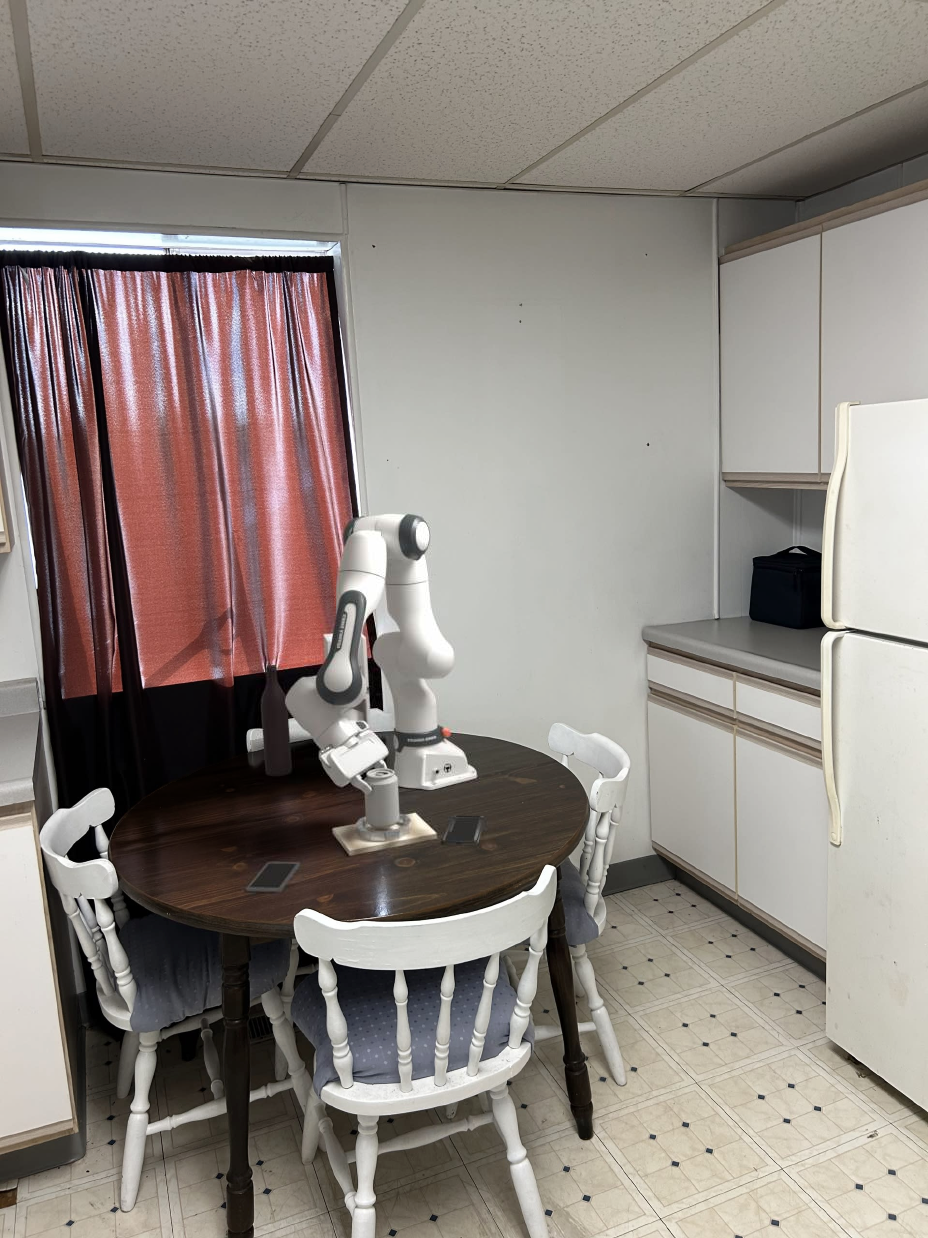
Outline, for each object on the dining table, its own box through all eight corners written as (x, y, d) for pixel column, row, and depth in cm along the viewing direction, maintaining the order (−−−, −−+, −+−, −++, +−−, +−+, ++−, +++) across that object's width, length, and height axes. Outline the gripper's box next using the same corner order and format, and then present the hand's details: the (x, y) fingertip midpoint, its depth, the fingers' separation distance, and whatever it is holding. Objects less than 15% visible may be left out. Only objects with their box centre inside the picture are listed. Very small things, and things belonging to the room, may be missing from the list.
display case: (330, 752, 277) (323, 634, 271) (367, 748, 279) (360, 631, 273) (335, 763, 266) (327, 641, 260) (372, 759, 268) (365, 638, 262)
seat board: (415, 817, 223) (415, 812, 223) (436, 838, 210) (436, 833, 210) (332, 833, 216) (332, 828, 215) (349, 855, 203) (349, 850, 203)
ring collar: (400, 817, 221) (400, 809, 220) (418, 835, 210) (417, 826, 209) (350, 826, 216) (350, 818, 216) (366, 845, 205) (365, 836, 205)
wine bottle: (297, 771, 261) (290, 664, 256) (279, 778, 255) (271, 669, 250) (278, 767, 264) (270, 662, 259) (260, 774, 258) (252, 667, 254)
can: (404, 818, 215) (402, 767, 213) (392, 831, 208) (389, 778, 206) (373, 816, 217) (371, 765, 215) (360, 828, 210) (358, 776, 208)
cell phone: (244, 894, 188) (244, 890, 187) (268, 864, 201) (268, 861, 201) (279, 895, 186) (279, 891, 186) (301, 865, 200) (301, 861, 200)
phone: (485, 816, 221) (477, 841, 206) (485, 820, 221) (477, 846, 206) (451, 815, 222) (441, 840, 207) (451, 820, 222) (441, 845, 207)
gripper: (323, 744, 202) (366, 792, 200) (368, 719, 221) (408, 763, 219) (306, 762, 205) (348, 810, 203) (352, 736, 224) (391, 780, 221)
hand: (379, 785), depth 211 cm, fingers closed on can, 7 cm apart
